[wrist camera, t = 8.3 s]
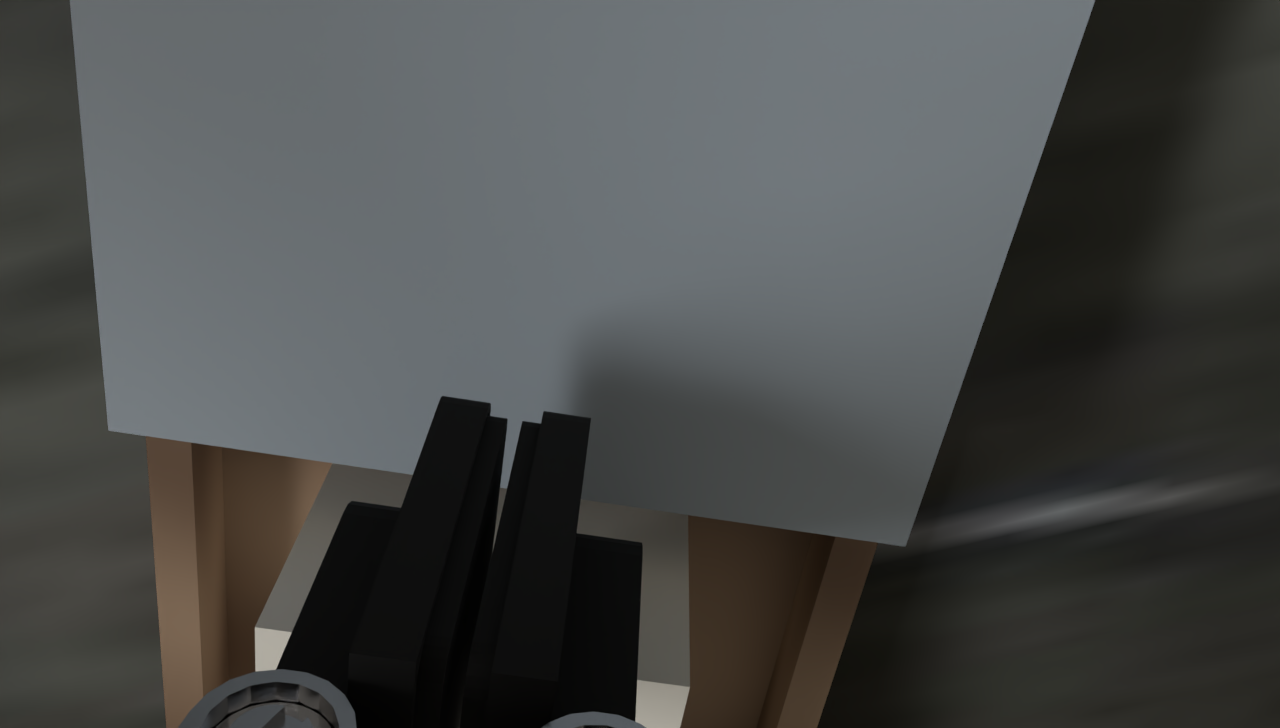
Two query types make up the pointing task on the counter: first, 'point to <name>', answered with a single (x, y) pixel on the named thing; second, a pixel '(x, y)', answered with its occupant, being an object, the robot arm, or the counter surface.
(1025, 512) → the counter surface
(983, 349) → the counter surface
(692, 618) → the walnut box
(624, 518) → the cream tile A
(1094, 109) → the counter surface
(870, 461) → the slate bench
